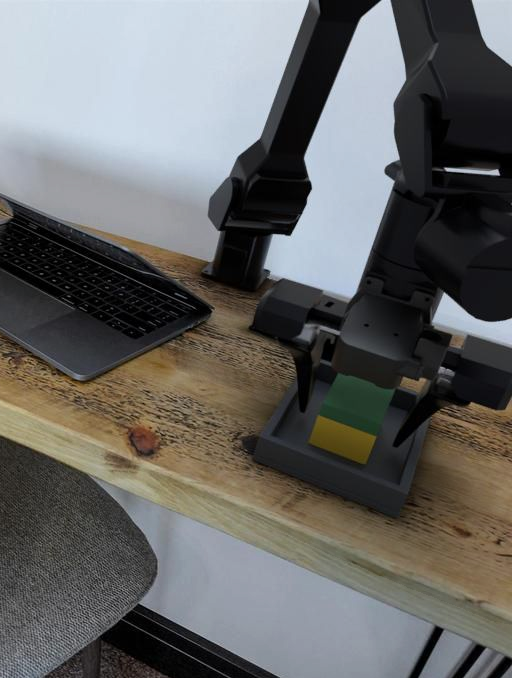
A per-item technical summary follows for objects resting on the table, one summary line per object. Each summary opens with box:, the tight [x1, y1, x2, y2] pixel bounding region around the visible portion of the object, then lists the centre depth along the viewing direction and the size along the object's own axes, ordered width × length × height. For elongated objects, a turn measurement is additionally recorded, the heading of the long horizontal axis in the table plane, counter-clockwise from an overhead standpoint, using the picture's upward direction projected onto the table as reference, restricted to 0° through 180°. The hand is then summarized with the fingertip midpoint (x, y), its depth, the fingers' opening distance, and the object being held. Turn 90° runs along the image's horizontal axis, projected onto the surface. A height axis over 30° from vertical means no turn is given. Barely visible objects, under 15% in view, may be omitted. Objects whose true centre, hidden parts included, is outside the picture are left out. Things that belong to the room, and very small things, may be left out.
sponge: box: [309, 373, 396, 465], centre depth 67 cm, size 7×4×4 cm, turn 148°
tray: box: [251, 359, 432, 519], centre depth 68 cm, size 16×11×2 cm
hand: (348, 427), depth 68 cm, fingers open, 7 cm apart
